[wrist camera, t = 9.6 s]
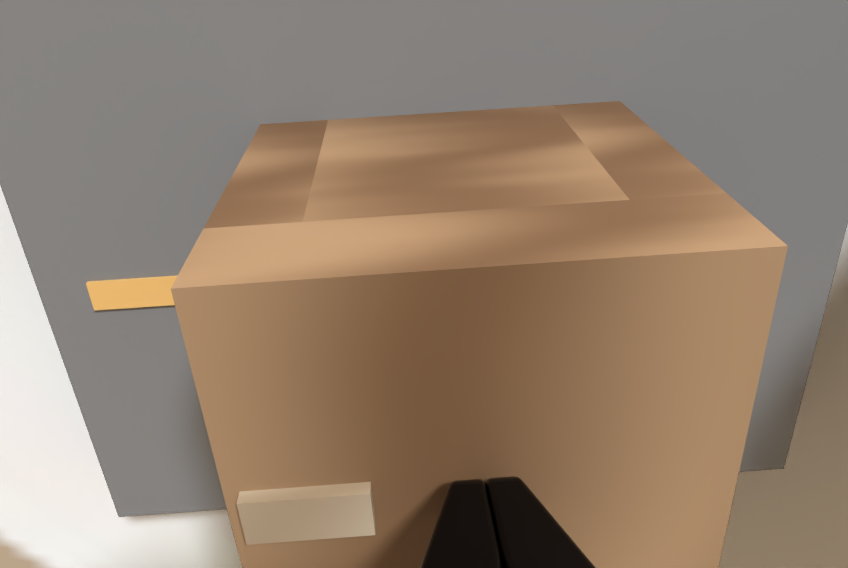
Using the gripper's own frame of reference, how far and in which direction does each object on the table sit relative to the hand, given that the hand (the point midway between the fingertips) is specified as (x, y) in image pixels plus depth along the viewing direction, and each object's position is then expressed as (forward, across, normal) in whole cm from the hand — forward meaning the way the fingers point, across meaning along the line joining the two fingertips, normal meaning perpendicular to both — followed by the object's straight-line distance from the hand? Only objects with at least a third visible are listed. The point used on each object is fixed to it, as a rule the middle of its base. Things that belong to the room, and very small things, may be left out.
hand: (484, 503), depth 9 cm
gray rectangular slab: (+8, 0, 0) cm, 8 cm away
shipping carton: (+6, 0, 0) cm, 6 cm away
